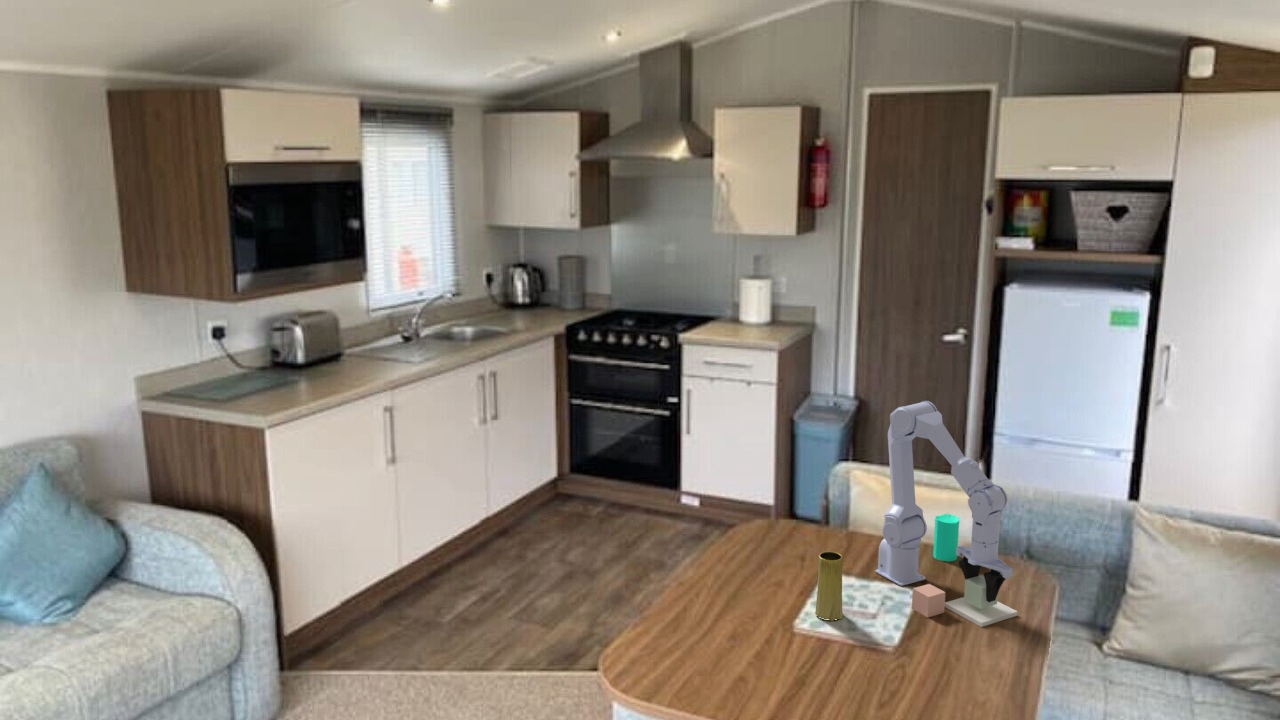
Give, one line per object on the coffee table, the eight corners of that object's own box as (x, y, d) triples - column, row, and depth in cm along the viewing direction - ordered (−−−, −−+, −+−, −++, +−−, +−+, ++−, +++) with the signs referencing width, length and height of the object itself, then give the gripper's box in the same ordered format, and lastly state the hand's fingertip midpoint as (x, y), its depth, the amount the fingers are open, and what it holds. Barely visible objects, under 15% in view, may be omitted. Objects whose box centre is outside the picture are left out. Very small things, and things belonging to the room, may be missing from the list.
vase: (811, 618, 215) (813, 558, 212) (819, 606, 220) (821, 548, 217) (838, 623, 212) (840, 563, 209) (846, 612, 218) (848, 553, 215)
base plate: (944, 606, 219) (944, 602, 219) (979, 596, 224) (979, 592, 224) (981, 627, 210) (981, 622, 210) (1017, 615, 215) (1017, 611, 215)
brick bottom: (963, 600, 218) (965, 579, 217) (979, 595, 220) (981, 575, 219) (980, 609, 213) (982, 588, 212) (997, 604, 216) (998, 583, 214)
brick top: (911, 608, 219) (912, 588, 218) (928, 603, 221) (929, 583, 220) (927, 617, 215) (928, 597, 214) (944, 612, 217) (945, 592, 216)
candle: (954, 552, 249) (957, 508, 247) (959, 561, 243) (962, 517, 241) (930, 551, 250) (933, 508, 247) (935, 561, 244) (937, 516, 241)
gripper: (947, 531, 218) (944, 587, 221) (997, 554, 205) (993, 612, 208) (970, 525, 221) (967, 580, 224) (1021, 547, 209) (1016, 605, 211)
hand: (981, 595), depth 216 cm, fingers closed on brick bottom, 5 cm apart
